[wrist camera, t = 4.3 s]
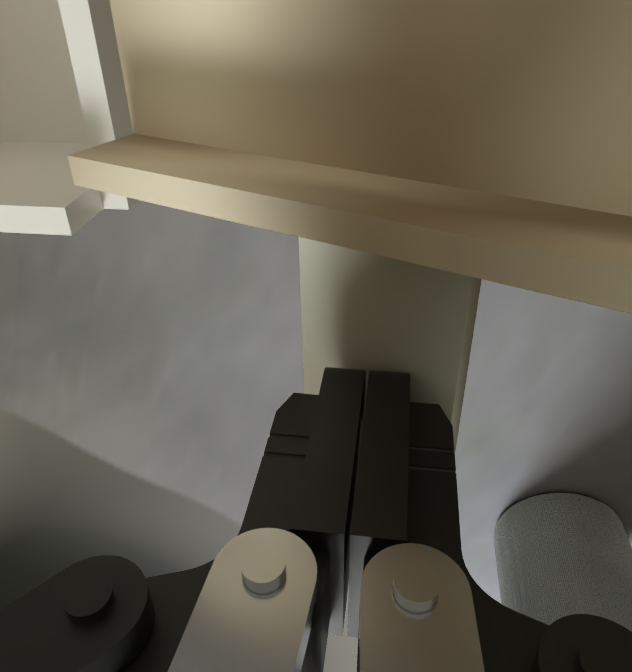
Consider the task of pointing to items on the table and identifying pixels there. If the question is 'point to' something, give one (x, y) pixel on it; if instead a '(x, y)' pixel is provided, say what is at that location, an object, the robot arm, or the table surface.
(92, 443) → the table surface
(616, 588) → the planter
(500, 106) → the lever
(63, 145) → the white open box
